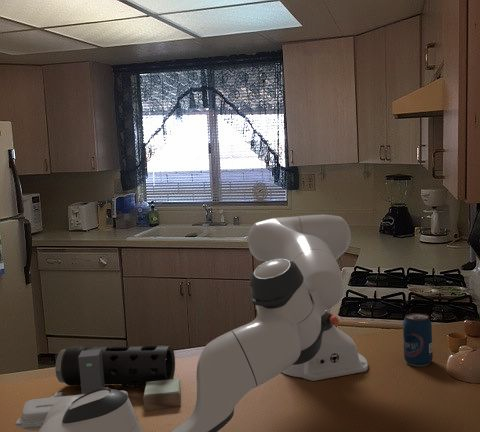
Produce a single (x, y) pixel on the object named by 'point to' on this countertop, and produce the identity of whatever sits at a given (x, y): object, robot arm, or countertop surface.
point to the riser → (162, 394)
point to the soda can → (417, 339)
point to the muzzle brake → (120, 365)
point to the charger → (91, 370)
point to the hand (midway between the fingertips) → (82, 393)
